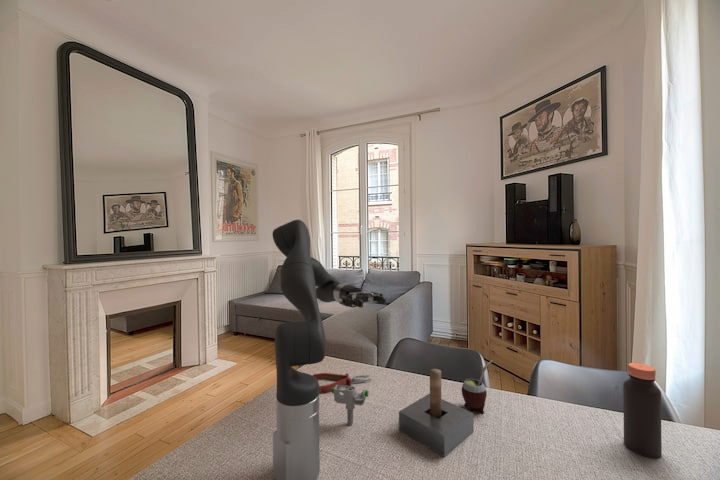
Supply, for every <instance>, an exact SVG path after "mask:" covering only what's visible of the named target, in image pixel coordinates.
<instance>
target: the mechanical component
mask: <svg viewBox="0 0 720 480" xmlns="http://www.w3.org/2000/svg"><path fill="white" fill-rule="evenodd" d="M331 394H333V396H334V397H333V398H334V402H335V403H337V404H343V405H345V410H347V411H346V413H347V419H346V420H347V426H349V427H352V425H353V423H354V409H355V408H356V406H363V405H364V404H365V401H366V399H367V398H369V390H368V389H366V388H362V391H361V392H358V391H357V390H356V386H353V385H351V386H348V385H346V386H345V385H336V386H335V387H332V392H331Z"/></svg>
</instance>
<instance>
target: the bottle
mask: <svg viewBox="0 0 720 480" xmlns="http://www.w3.org/2000/svg"><path fill="white" fill-rule="evenodd" d="M627 374H628V376H629V378H628V379H626V380H625V381H624V382H623V383H622V384H623V388H622V389H623V391H622V392H623V393H622V394H623V395H622V396H623V397H622V398H623V399H622V400H623V444H624V445H625V447H627V448H628V449H630V450H631V451H632V452H634V453H636V454H639V455H640V456H644V457H647V458H652V457H655V458H656V457H657V458H660V457H662V453H663V450H662V448H663V447H662V444H663V443H662V392H661V390H660V389H659V387H658V386H656V385H655V384H654V382H655V381H656V369H655V368H654V367H652V366H651V365H650V366H649V365H648V364H644V363H637V362H630V363H628V364H627ZM655 458H654V459H655Z"/></svg>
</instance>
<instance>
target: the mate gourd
mask: <svg viewBox="0 0 720 480" xmlns="http://www.w3.org/2000/svg"><path fill="white" fill-rule="evenodd" d="M492 363H494V359H492V360H490V361H489V362H487V363H486V364H485V366H483V368H482V371H481V374H480V378H479V379H475V378H466V379H465V380H463V381H464V382H463V383H462V385H461V394H462V395H461V396H462V398H463V401H464V406H465V407H467V410H468V411H470V412H472V413H473V411H476V412H478V413H480V414H482V415H483V414H485V411H484V408H485V404H486V400H487V396H488V395H487V389H486V386H485V384H484V383H483V382H482V379H483V377H484V374H485V371H486V370H487V367H488V366H489V365H491V364H492Z"/></svg>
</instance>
